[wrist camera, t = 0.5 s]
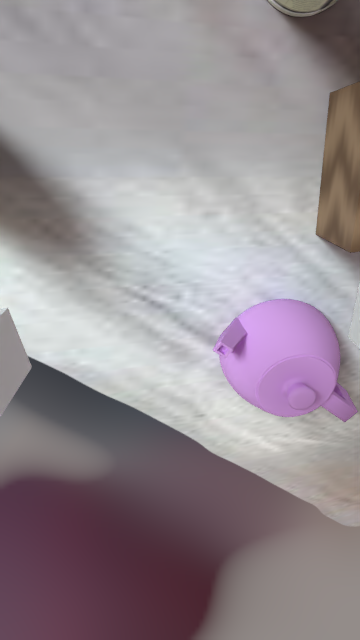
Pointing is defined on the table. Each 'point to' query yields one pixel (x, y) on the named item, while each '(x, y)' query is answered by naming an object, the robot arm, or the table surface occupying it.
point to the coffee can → (302, 6)
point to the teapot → (284, 360)
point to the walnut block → (341, 171)
